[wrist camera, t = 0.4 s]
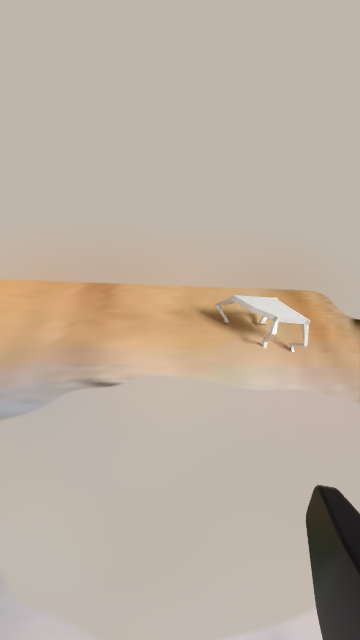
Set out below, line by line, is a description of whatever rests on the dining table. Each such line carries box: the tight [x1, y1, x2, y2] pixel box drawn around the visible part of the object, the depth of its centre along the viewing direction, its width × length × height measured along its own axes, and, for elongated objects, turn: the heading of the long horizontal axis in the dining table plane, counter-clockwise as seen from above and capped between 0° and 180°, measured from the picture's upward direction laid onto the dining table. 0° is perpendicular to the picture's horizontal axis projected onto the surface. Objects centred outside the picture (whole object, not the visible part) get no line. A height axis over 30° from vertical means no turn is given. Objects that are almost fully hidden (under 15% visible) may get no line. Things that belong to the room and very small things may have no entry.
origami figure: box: [215, 295, 310, 352], centre depth 44 cm, size 12×8×5 cm
